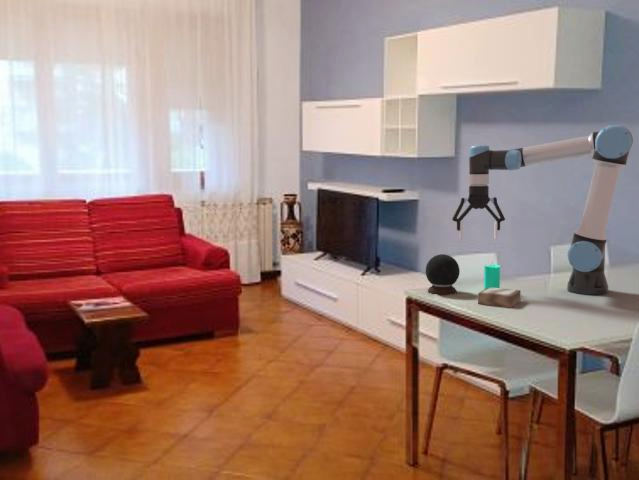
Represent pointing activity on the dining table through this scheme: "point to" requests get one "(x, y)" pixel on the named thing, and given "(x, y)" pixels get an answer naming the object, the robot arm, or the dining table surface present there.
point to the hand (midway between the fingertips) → (478, 238)
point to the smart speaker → (442, 274)
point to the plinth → (499, 297)
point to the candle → (492, 276)
